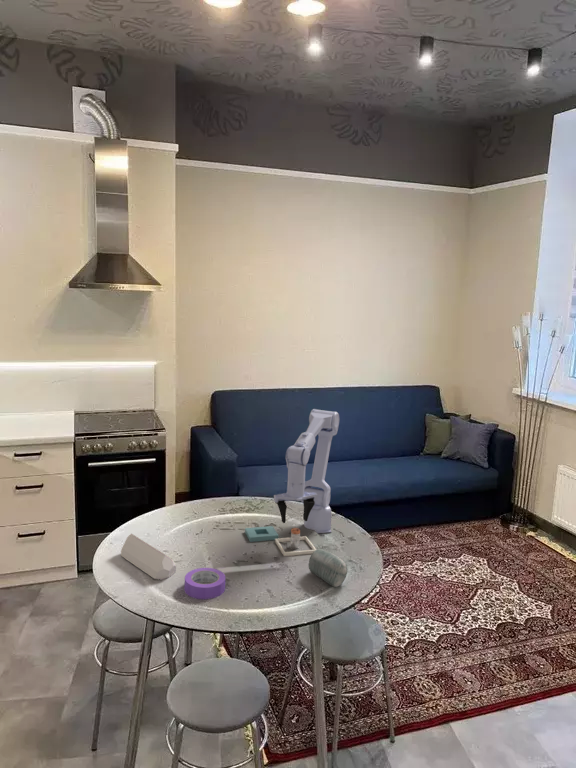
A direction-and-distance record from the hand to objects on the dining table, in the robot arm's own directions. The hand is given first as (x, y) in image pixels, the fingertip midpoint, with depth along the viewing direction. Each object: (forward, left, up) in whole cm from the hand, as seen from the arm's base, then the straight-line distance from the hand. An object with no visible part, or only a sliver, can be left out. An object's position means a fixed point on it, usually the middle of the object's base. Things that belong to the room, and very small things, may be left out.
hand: (294, 520), depth 195 cm
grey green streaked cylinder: (-4, +22, -11) cm, 24 cm away
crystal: (+48, +1, -11) cm, 49 cm away
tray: (0, +2, -10) cm, 10 cm away
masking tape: (+33, +20, -11) cm, 40 cm away
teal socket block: (+9, -9, -10) cm, 16 cm away
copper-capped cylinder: (0, +1, -10) cm, 10 cm away
